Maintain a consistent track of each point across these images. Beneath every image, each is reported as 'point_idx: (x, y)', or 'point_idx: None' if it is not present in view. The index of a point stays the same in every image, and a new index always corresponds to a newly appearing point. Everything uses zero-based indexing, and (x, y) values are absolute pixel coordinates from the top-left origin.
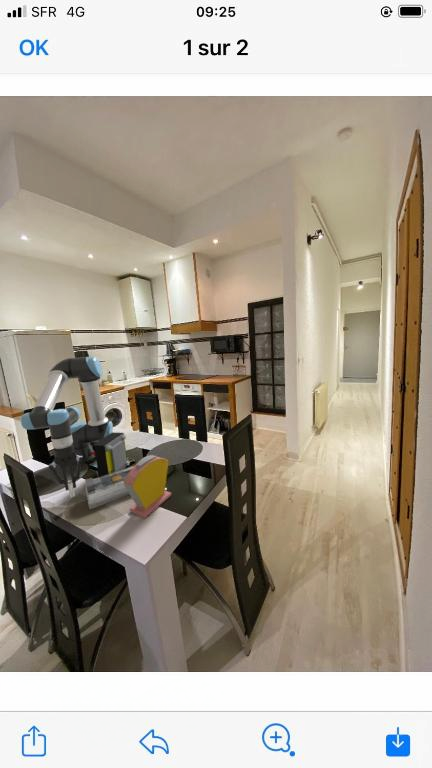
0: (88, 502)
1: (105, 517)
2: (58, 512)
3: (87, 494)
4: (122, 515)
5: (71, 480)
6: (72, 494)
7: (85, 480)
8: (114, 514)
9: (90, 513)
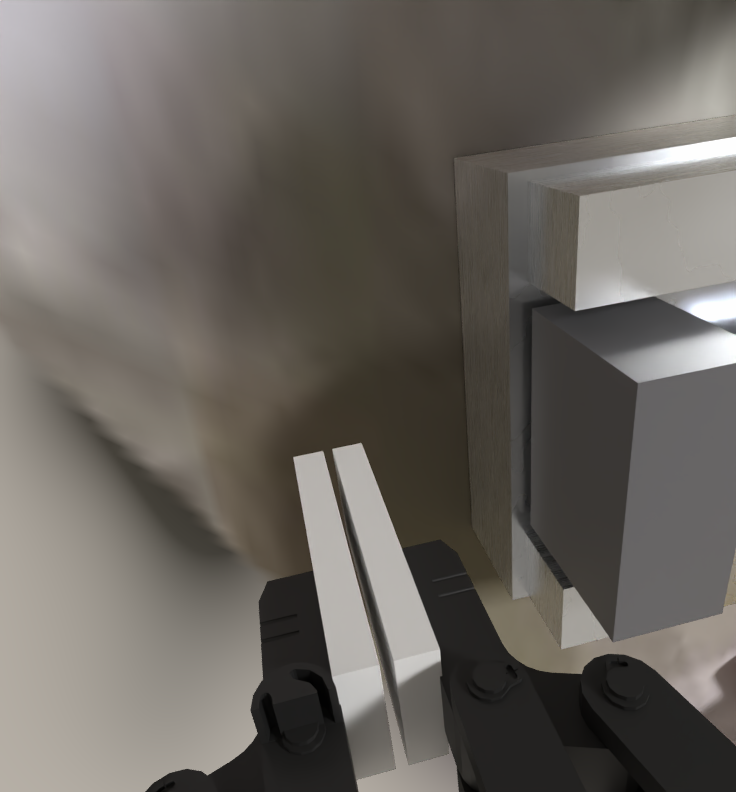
0: (507, 587)
1: (575, 661)
2: (129, 447)
3: (520, 456)
4: (682, 674)
5: (426, 667)
6: (354, 561)
7: (636, 420)
8: (640, 650)
9: (474, 582)
